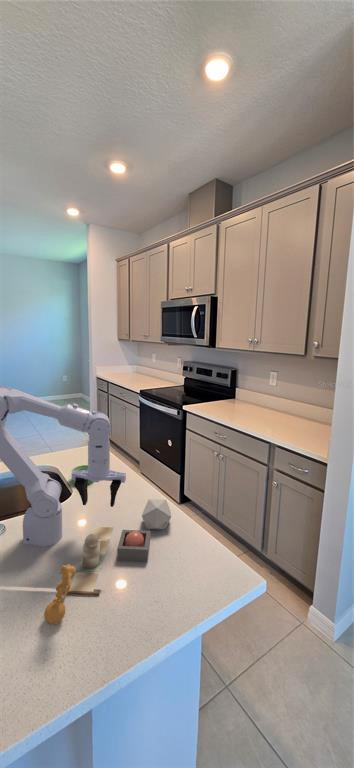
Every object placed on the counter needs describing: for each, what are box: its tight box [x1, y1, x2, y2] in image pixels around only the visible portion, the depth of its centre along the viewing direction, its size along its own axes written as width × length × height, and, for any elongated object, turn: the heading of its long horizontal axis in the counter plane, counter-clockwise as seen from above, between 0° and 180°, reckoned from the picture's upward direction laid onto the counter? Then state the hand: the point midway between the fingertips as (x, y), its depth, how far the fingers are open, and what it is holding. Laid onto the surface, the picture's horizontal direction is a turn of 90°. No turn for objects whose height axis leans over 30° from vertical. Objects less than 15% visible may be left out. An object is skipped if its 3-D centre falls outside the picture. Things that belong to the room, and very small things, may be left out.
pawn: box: [82, 533, 101, 569], centre depth 80 cm, size 4×4×8 cm
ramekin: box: [71, 464, 94, 485], centre depth 124 cm, size 9×9×4 cm
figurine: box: [43, 563, 77, 625], centre depth 65 cm, size 8×6×12 cm
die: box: [141, 498, 172, 530], centre depth 97 cm, size 8×9×10 cm
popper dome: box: [125, 531, 145, 547], centre depth 85 cm, size 5×5×5 cm
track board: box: [62, 526, 114, 597], centre depth 84 cm, size 8×24×1 cm, turn 0°
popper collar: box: [116, 529, 151, 563], centre depth 86 cm, size 8×8×4 cm
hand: (98, 504), depth 91 cm, fingers open, 7 cm apart
